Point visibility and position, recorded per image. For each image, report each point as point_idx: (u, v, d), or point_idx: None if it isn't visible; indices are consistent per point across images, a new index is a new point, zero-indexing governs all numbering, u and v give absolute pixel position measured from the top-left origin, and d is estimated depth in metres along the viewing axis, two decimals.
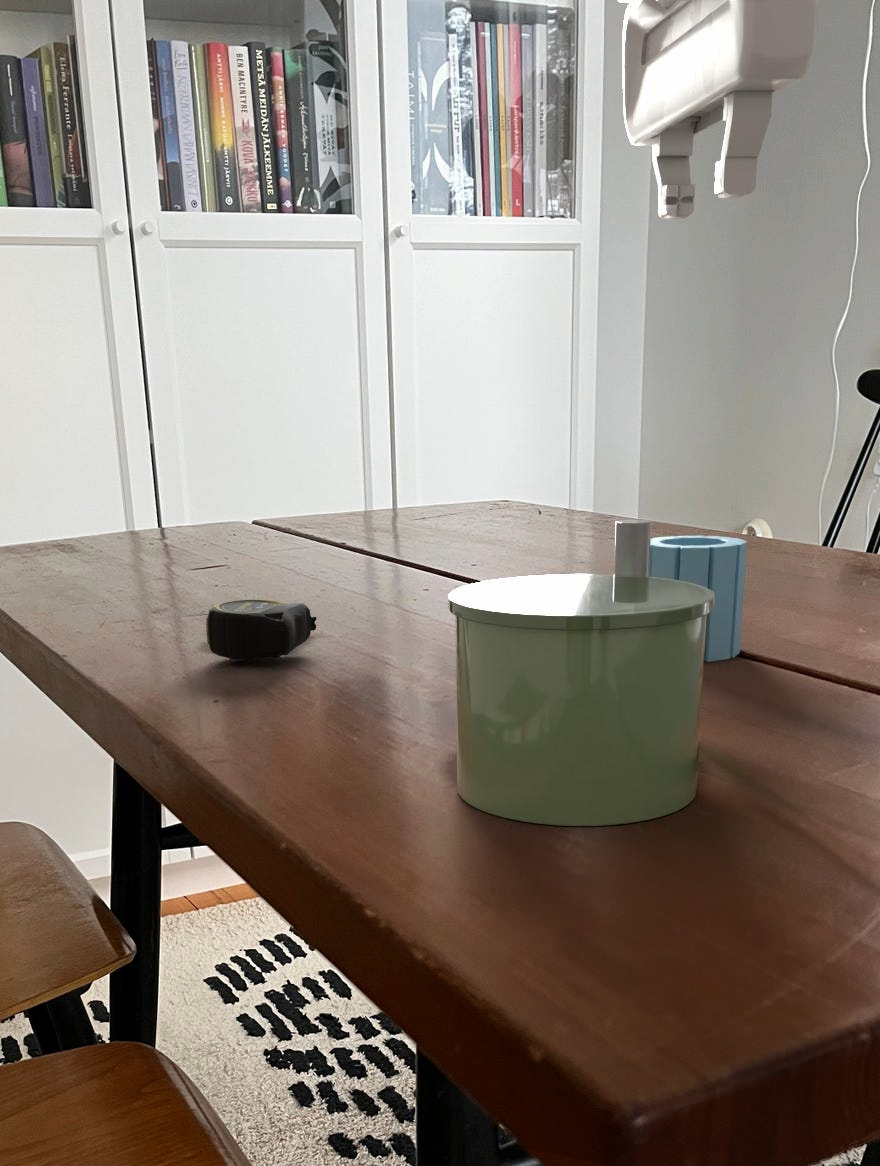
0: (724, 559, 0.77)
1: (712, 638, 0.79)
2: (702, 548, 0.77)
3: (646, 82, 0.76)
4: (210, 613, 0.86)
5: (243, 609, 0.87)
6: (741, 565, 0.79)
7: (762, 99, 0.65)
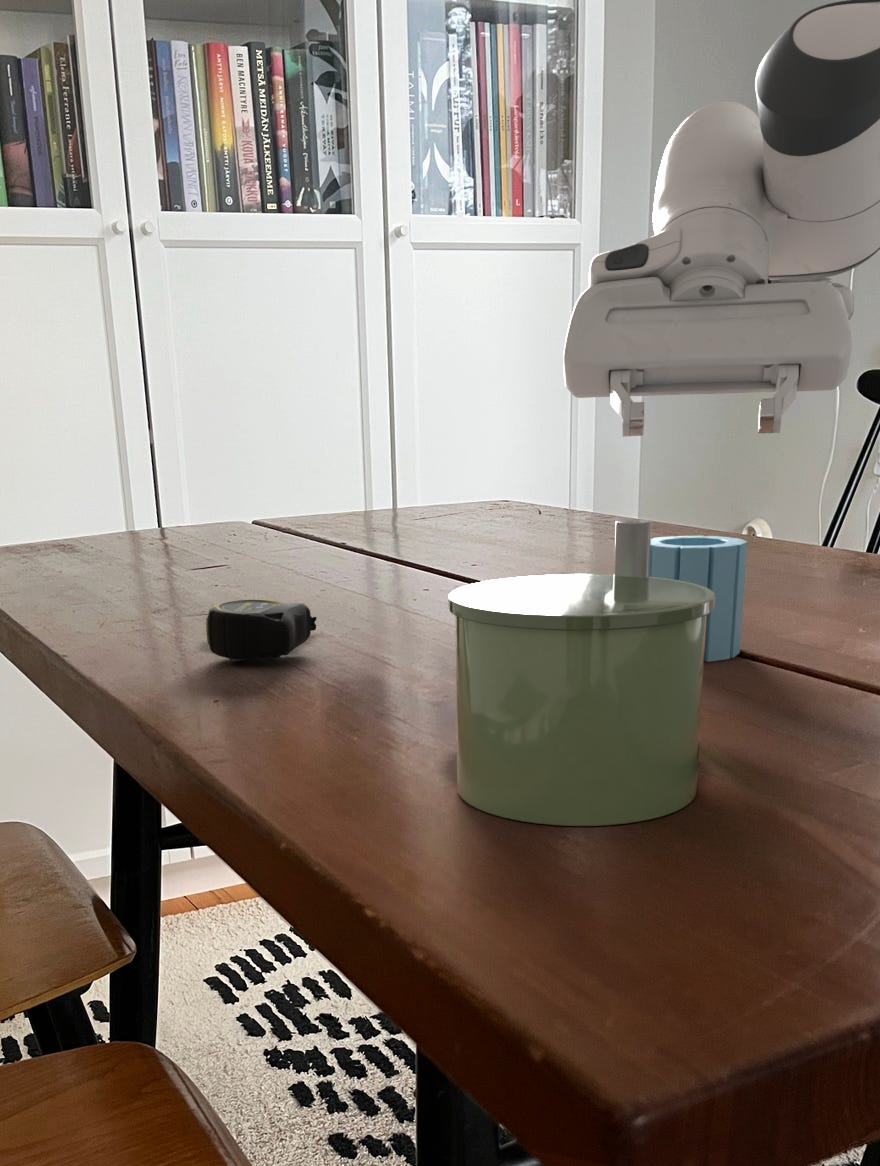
0: (724, 559, 0.77)
1: (712, 638, 0.79)
2: (702, 548, 0.77)
3: (622, 333, 0.92)
4: (210, 613, 0.86)
5: (243, 609, 0.87)
6: (741, 565, 0.79)
7: None
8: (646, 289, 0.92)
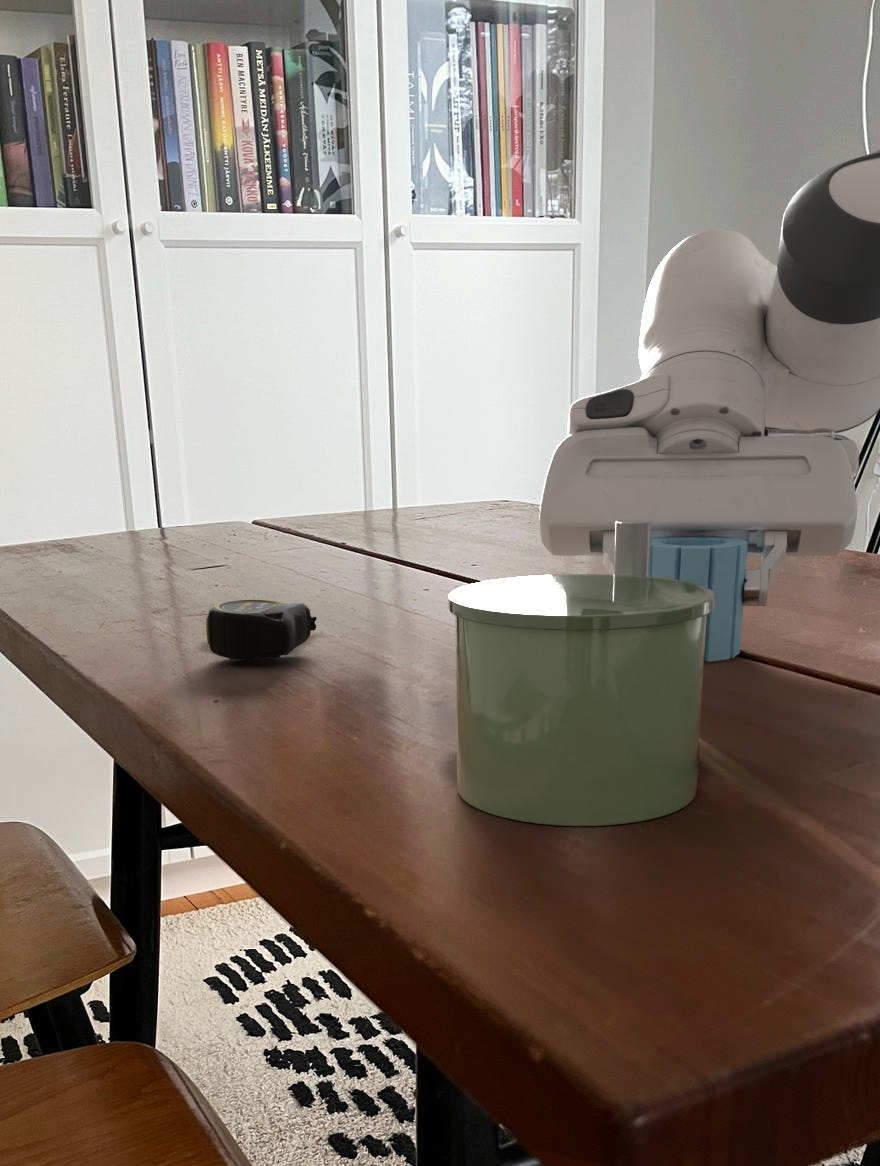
0: (724, 559, 0.77)
1: (712, 638, 0.79)
2: (702, 548, 0.77)
3: (604, 489, 0.83)
4: (210, 613, 0.86)
5: (243, 609, 0.87)
6: (741, 565, 0.79)
7: None
8: (631, 440, 0.84)
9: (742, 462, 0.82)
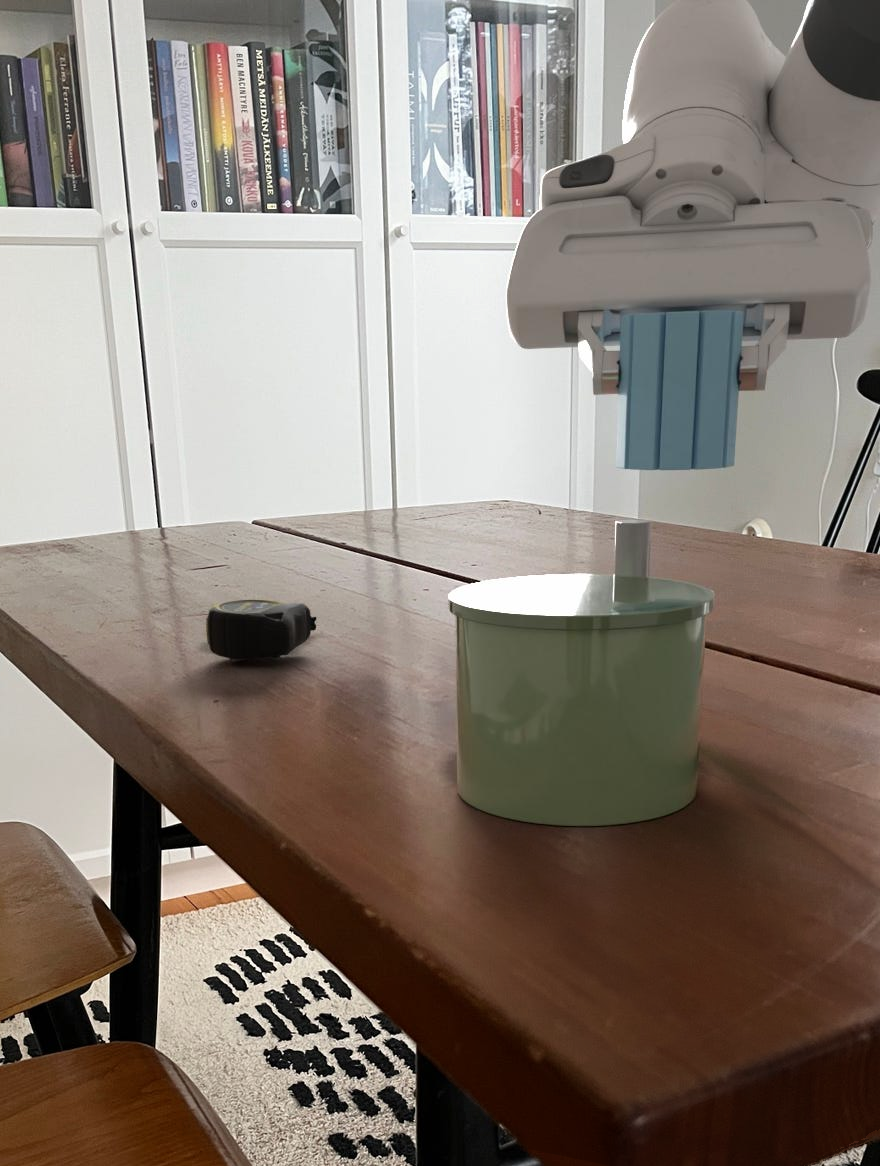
0: (716, 326, 0.67)
1: (702, 423, 0.68)
2: (691, 312, 0.66)
3: (580, 265, 0.73)
4: (210, 613, 0.86)
5: (243, 609, 0.87)
6: (736, 338, 0.68)
7: None
8: (610, 211, 0.73)
9: (738, 232, 0.72)
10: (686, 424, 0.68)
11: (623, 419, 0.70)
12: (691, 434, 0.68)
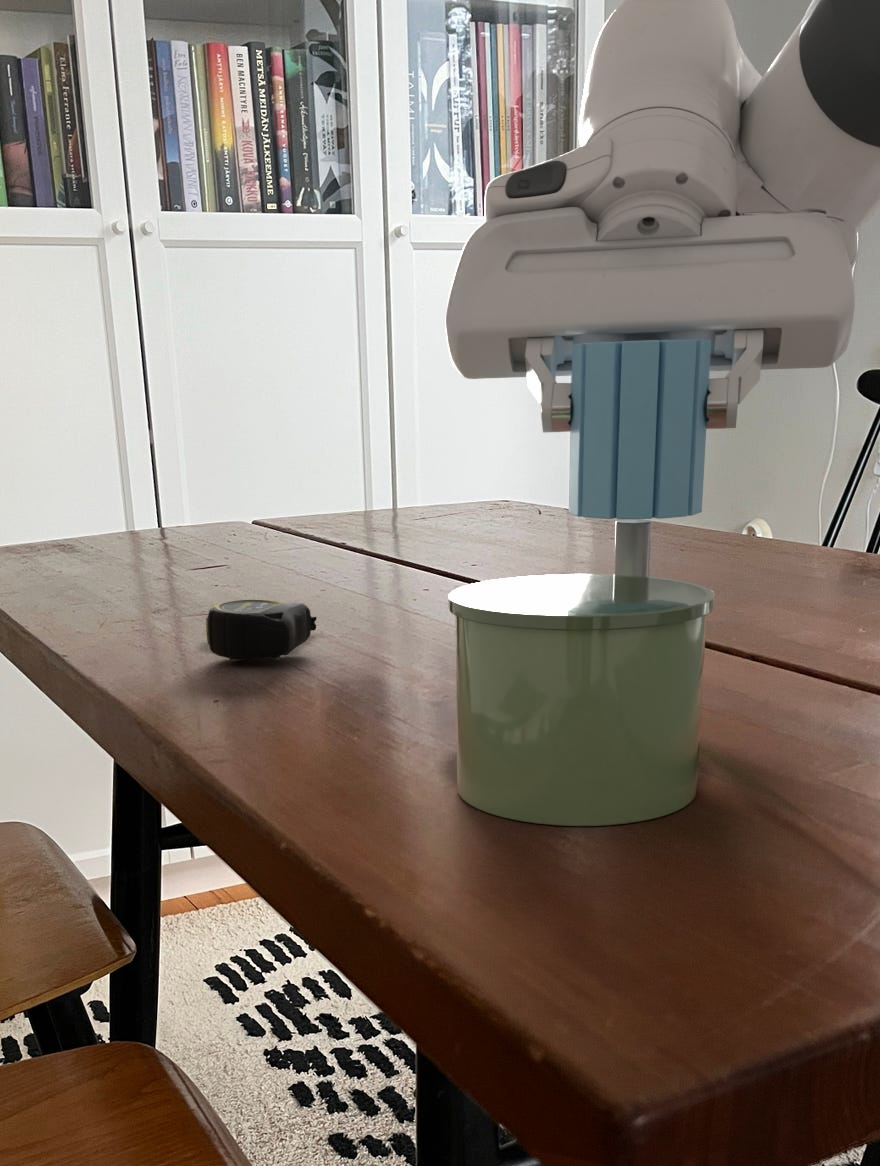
0: (679, 357, 0.59)
1: (664, 466, 0.60)
2: (650, 341, 0.58)
3: (528, 286, 0.64)
4: (210, 613, 0.86)
5: (243, 609, 0.87)
6: (703, 370, 0.60)
7: None
8: (562, 224, 0.65)
9: (706, 248, 0.64)
10: (646, 468, 0.60)
11: (576, 461, 0.62)
12: (652, 479, 0.60)
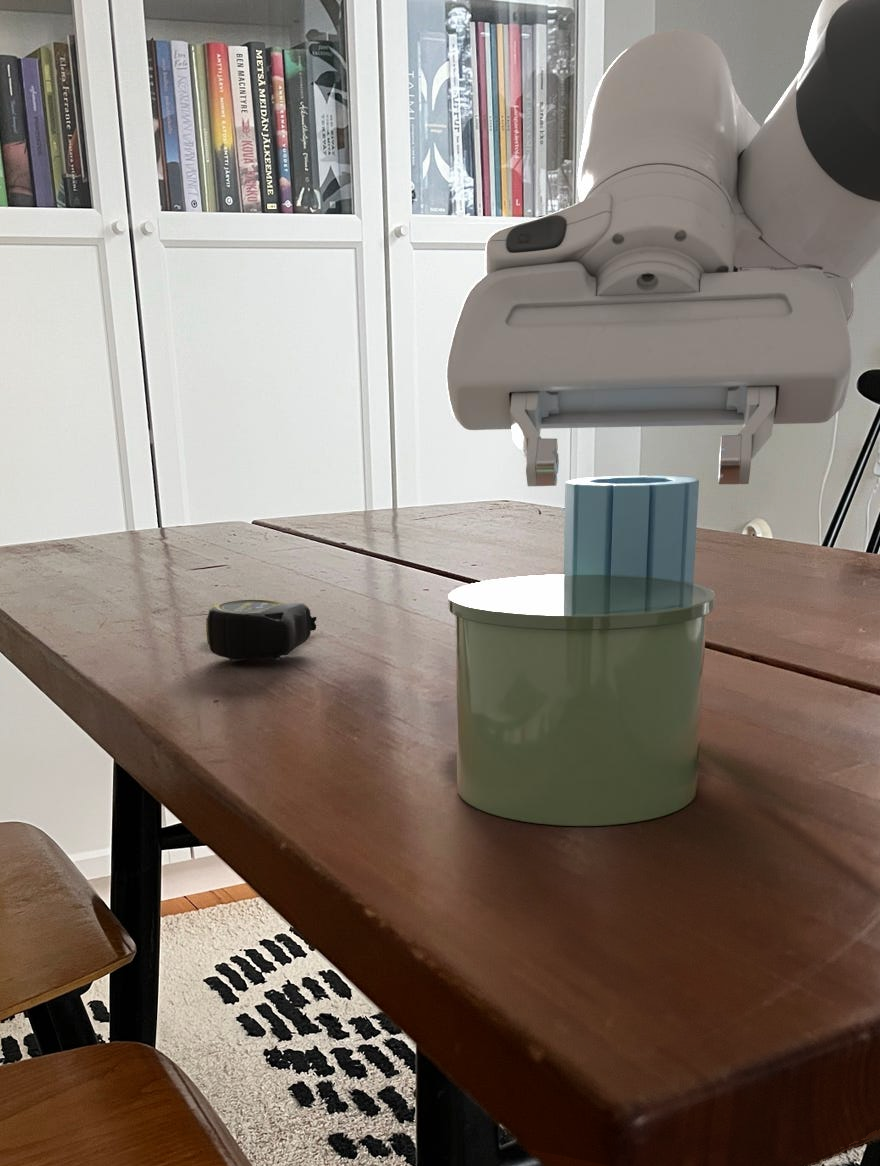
0: (669, 500, 0.61)
1: None
2: (640, 486, 0.60)
3: (528, 340, 0.65)
4: (210, 613, 0.86)
5: (243, 609, 0.87)
6: (691, 509, 0.62)
7: None
8: (562, 279, 0.65)
9: (704, 304, 0.64)
10: None
11: None
12: None
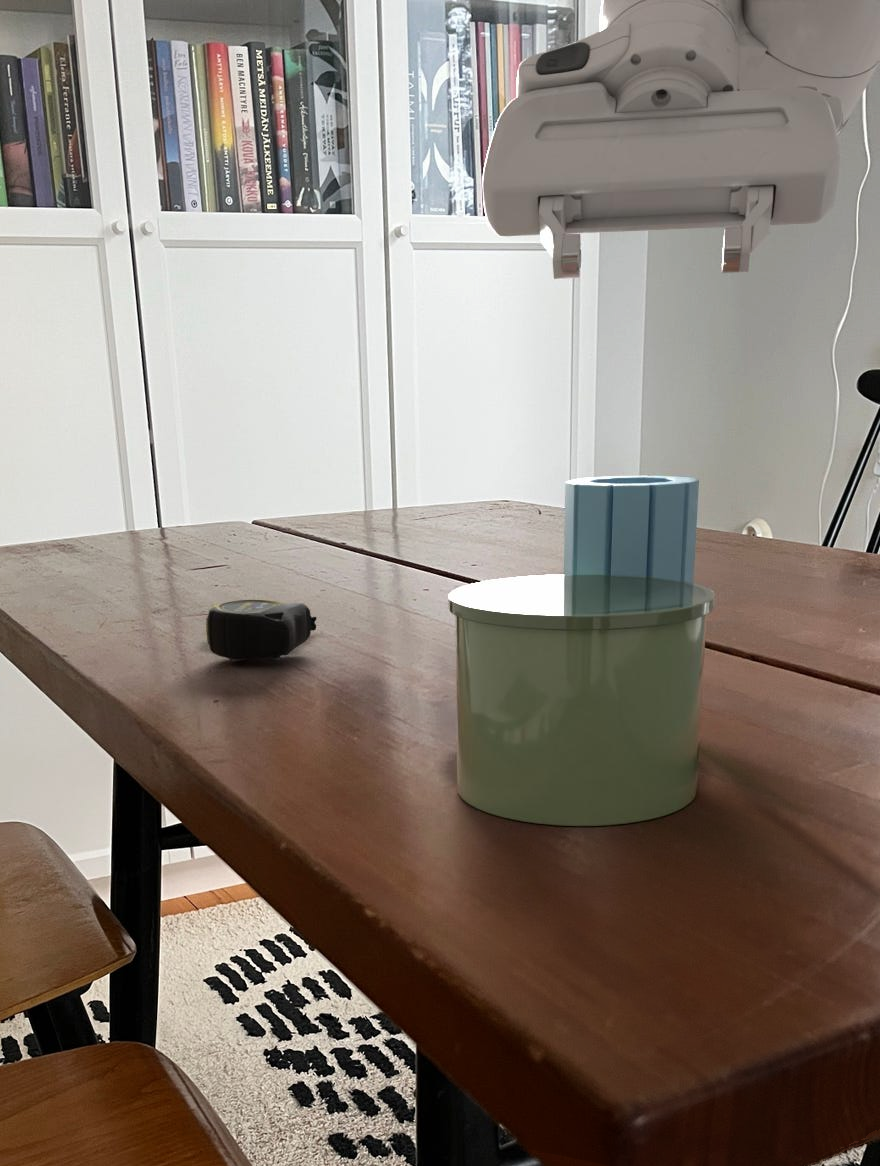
0: (669, 500, 0.61)
1: None
2: (640, 486, 0.60)
3: (555, 151, 0.74)
4: (210, 613, 0.86)
5: (243, 609, 0.87)
6: (691, 509, 0.62)
7: None
8: (586, 97, 0.74)
9: (711, 118, 0.73)
10: None
11: None
12: None
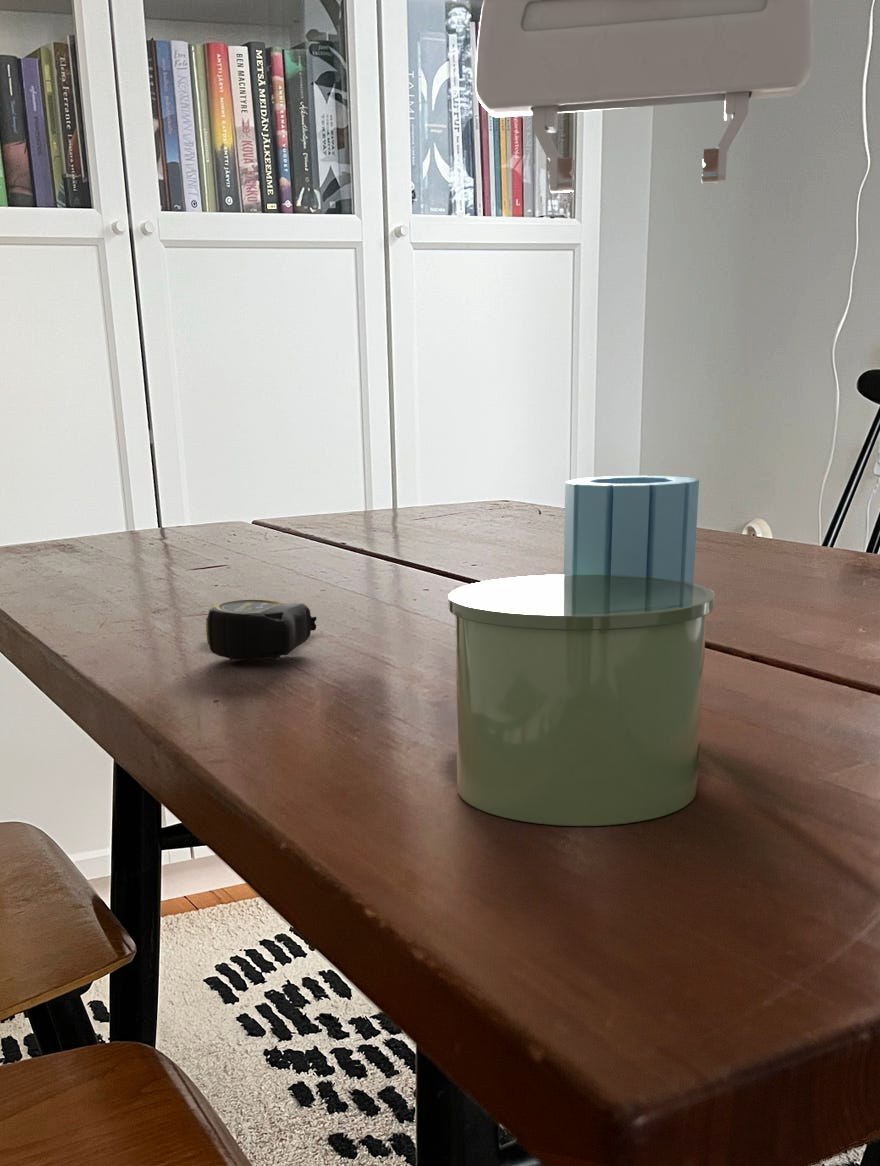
0: (669, 500, 0.61)
1: None
2: (640, 486, 0.60)
3: (542, 50, 0.77)
4: (210, 613, 0.86)
5: (243, 609, 0.87)
6: (691, 509, 0.62)
7: None
8: None
9: None
10: None
11: None
12: None
